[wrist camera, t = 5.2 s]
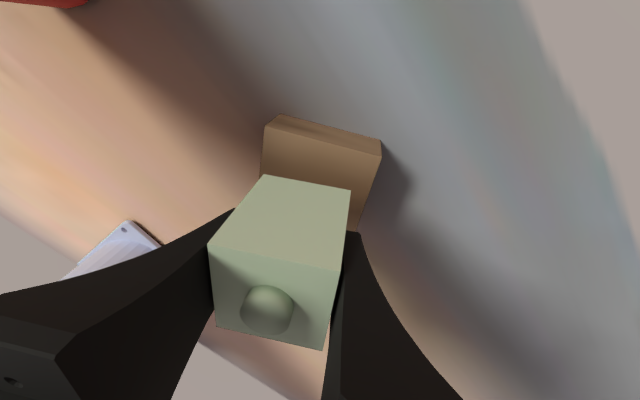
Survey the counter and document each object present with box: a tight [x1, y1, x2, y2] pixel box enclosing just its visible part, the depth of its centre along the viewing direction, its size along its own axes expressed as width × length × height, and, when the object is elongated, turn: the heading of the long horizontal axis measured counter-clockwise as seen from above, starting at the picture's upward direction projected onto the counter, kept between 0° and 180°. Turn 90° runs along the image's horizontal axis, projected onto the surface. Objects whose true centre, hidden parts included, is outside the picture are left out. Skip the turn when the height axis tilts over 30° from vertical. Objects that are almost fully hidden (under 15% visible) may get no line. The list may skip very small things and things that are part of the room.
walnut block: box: [259, 114, 382, 232], centre depth 16 cm, size 6×6×3 cm
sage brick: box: [207, 174, 351, 351], centre depth 11 cm, size 4×4×6 cm
